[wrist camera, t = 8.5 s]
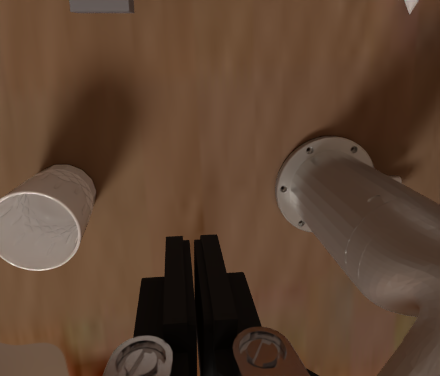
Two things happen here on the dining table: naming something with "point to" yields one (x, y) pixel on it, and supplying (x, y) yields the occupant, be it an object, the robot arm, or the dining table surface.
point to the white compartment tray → (410, 4)
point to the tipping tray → (102, 6)
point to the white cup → (46, 218)
